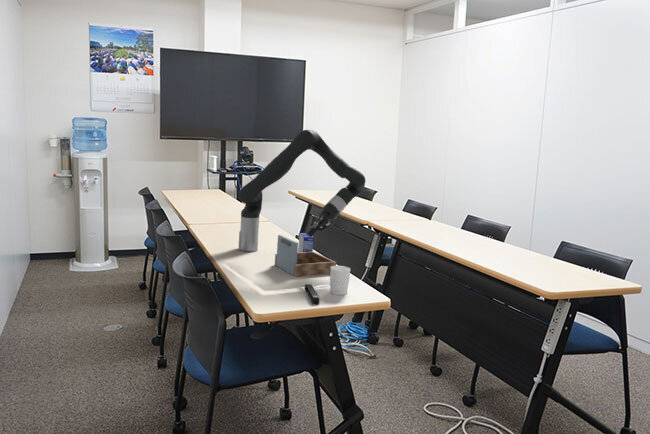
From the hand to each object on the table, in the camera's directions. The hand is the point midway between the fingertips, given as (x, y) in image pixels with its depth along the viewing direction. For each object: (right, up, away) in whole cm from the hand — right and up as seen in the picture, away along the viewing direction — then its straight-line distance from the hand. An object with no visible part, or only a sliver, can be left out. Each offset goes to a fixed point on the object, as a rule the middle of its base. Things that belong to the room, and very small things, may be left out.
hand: (308, 235), depth 232 cm
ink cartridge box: (-3, -13, +26) cm, 29 cm away
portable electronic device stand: (+2, -23, -32) cm, 39 cm away
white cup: (+13, -22, -24) cm, 35 cm away
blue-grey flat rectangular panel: (-10, -15, -3) cm, 19 cm away
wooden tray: (-2, -17, +2) cm, 17 cm away
